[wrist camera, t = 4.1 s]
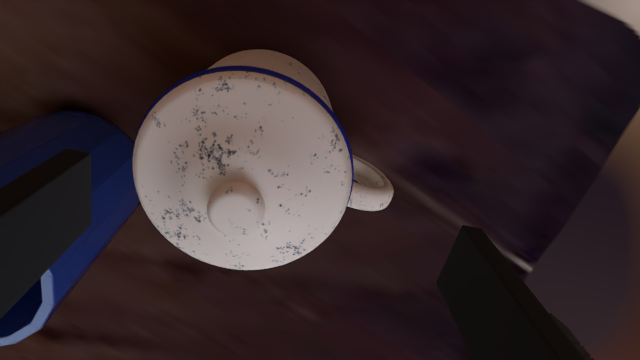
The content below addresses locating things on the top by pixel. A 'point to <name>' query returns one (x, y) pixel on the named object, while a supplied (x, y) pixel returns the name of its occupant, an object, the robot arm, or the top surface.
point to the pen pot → (106, 203)
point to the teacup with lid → (249, 163)
